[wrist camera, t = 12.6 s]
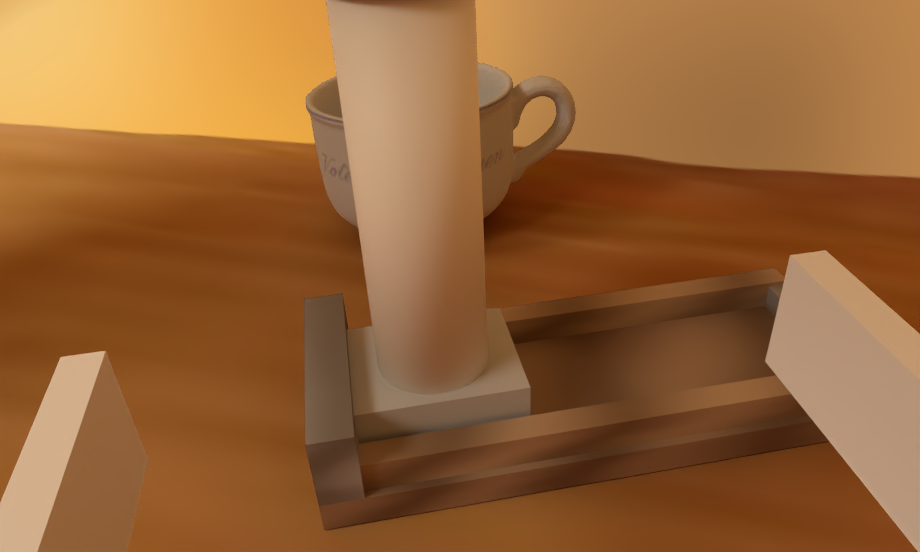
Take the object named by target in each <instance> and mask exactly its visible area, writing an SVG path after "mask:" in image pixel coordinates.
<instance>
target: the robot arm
mask: <svg viewBox="0 0 920 552" xmlns="http://www.w3.org/2000/svg"><path fill="white" fill-rule="evenodd" d="M765 362H766V363H767V364H768V366H769V367H770V368H771V369H772V371H773V372H774V373H775V374H776V376H777V377H778V378H779V379H780V380H781V382H782V383H783V384H784V385H785V387H786V388H787V389H788V390H789V392H790V393H791V394H792V395H793V397H794V398H795V399H796V400H797V402H798V403H799V404H800V405H801V407H802V408H803V409H804V410H805V412H806V413H807V414H808V415H809V417H810V418H811V419H812V420H813V422H814V423H815V424H816V425H817V427H818V428H819V429H820V430H821V432H822V433H823V434H824V435H825V436H826V438H827V439H828V440H829V441H830V443H831V444H832V445H833V446H834V448H835V449H836V450H837V451H838V453H839V454H840V455H841V456H842V458H843V459H844V460H845V461H846V463H847V464H848V465H849V466H850V468H851V469H852V470H853V471H854V473H855V474H856V475H857V476H858V478H859V479H860V480H861V481H862V483H863V484H864V485H865V486H866V487H867V489H868V490H869V491H870V492H871V494H872V495H873V496H874V497H875V499H876V500H877V501H878V502H879V504H880V505H881V506H882V507H883V509H884V510H885V511H886V512H887V514H888V515H889V516H890V517H891V519H892V520H893V521H894V522H895V524H896V525H897V526H898V527H899V529H900V530H901V531H902V532H903V534H904V535H905V536H906V537H907V539H908V540H909V541H910V542H911V543H912V545H913V546H914V547H915V548H916V550H917V551H918V552H920V334H919V333H918V332H917V331H916V330H915V329H913V328H912V327H911V326H910V325H909V324H908V323H907V322H906V321H904V320H903V319H902V318H901V317H900V316H899V315H898V314H897V313H895V312H894V311H893V310H892V309H891V308H890V307H889V306H888V305H886V304H885V303H884V302H883V301H882V300H881V299H880V298H879V297H877V296H876V295H875V294H874V293H873V292H872V291H871V290H870V289H868V288H867V287H866V286H865V285H864V284H863V283H862V282H861V281H859V280H858V279H857V278H856V277H855V276H854V275H853V274H852V273H850V272H849V271H848V270H847V269H846V268H845V267H844V266H843V265H842V264H840V263H839V262H838V261H837V260H836V259H835V258H834V257H833V256H831V255H830V254H829V253H828V252H827V251H826V250H824V251H817V252H810V253H803V254H795V255H790V258H789V262H788V266H787V271H786V275H785V279H784V283H783V288H782V292H781V296H780V300H779V304H778V309H777V313H776V317H775V321H774V326H773V330H772V334H771V338H770V343H769V347H768V351H767V355H766V360H765ZM147 461H148V457H147V455H146V452H145V450H144V447H143V445H142V442H141V439H140V437H139V434H138V432H137V429H136V427H135V424H134V422H133V419H132V416H131V414H130V411H129V409H128V406H127V404H126V401H125V399H124V396H123V394H122V391H121V388H120V386H119V383H118V381H117V378H116V376H115V373H114V371H113V368H112V365H111V363H110V360H109V358H108V355H107V353H106V351H100V352H93V353H86V354H79V355H72V356H65V357H61V358H60V360H59V362H58V365H57V367H56V370H55V372H54V374H53V377H52V379H51V382H50V384H49V386H48V389H47V391H46V394H45V396H44V399H43V401H42V403H41V406H40V408H39V411H38V413H37V415H36V418H35V420H34V423H33V425H32V427H31V430H30V432H29V435H28V437H27V440H26V442H25V444H24V447H23V449H22V452H21V454H20V456H19V459H18V461H17V464H16V466H15V468H14V471H13V473H12V476H11V478H10V480H9V483H8V485H7V488H6V490H5V493H4V495H3V497H2V500H1V502H0V552H127V550H128V546H129V541H130V537H131V532H132V528H133V523H134V519H135V514H136V510H137V505H138V501H139V496H140V492H141V487H142V483H143V478H144V474H145V469H146V465H147Z"/></svg>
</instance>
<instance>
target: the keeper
mask: <svg viewBox="0 0 920 552" xmlns="http://www.w3.org/2000/svg"><path fill="white" fill-rule="evenodd" d="M326 4H327V12H328V18H329V26H330V33H331V40H332V47H333V54H334V60H335V68H336V75H337V82H338V89H339V96H340V103H341V110H342V117H343V124H344V131H345V138H346V145H347V152H348V159H349V166H350V173H351V180H352V187H353V194H354V201H355V208H356V215H357V223H358V230H359V237H360V244H361V251H362V258H363V265H364V272H365V279H366V286H367V293H368V300H369V307H370V314H371V321H372V326H367V327H360V328H353V329H346V330H347V342H348V354H349V366H350V377H351V389H352V401H353V413H354V420H355V426H356V432H357V437H358V443H359V444H360V443H366V442H372V441H378V440H385V439H391V438H397V437H403V436H409V435H415V434H421V433H427V432H433V431H440V430H446V429H452V428H458V427H464V426H470V425H476V424H482V423H488V422H495V421H501V420H507V419H513V418H519V417H525V416H530V393H531V388H530V385H529V382H528V380H527V377H526V375H525V372H524V369H523V367H522V364H521V362H520V359H519V356H518V354H517V351H516V349H515V346H514V343H513V341H512V338H511V336H510V333H509V330H508V328H507V325H506V323H505V320H504V317H503V315H502V312H501V310H500V307H498V308H491V309H487V307H486V280H485V253H484V226H483V199H482V172H481V145H480V118H479V91H478V64H477V37H476V11H475V0H326Z"/></svg>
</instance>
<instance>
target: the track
mask: <svg viewBox="0 0 920 552" xmlns="http://www.w3.org/2000/svg"><path fill="white" fill-rule="evenodd" d="M784 279H785V277H784V276H783V275H782V274H781V273H780V272H779V271H778V270H777V269H776V268H772V269H771V268H769V269H762V270H755V271H751V272H744V273H738V274H731V275H724V276H717V277H710V278H703V279H696V280H689V281H683V282H676V283H669V284H662V285H655V286H648V287H641V288H634V289H627V290H621V291H614V292H607V293H600V294H593V295H586V296H579V297H572V298H566V299H559V300H552V301H545V302H538V303H531V304H524V305H517V306H511V307H504V308H500V310H501V312H502V315H503V317H504V320H505V323H506V325H507V328H508V330H509V333H510V336H511V338H512V341H513V343H514V346H515V349H516V351H517V354H518V356H519V359H520V362H521V364H522V367H523V369H524V372H525V375H526V377H527V380H528V382H529V385H530V388H531V393H530V416H525V417H519V418H513V419H507V420H501V421H495V422H488V423H482V424H476V425H470V426H464V427H458V428H452V429H446V430H440V431H433V432H427V433H421V434H415V435H409V436H403V437H397V438H391V439H385V440H378V441H372V442H366V443H360V444H359V443H358V437H357V432H356V426H355V420H354V413H353V401H352V389H351V377H350V366H349V354H348V342H347V330H346V329H348V324H347V318H346V312H345V306H344V300H343V294H335V295H328V296H321V297H314V298H307V299H304V339H305V446H306V451H307V455H308V459H309V464H310V468H311V473H312V477H313V481H314V486H315V490H316V495H317V499H318V503H319V508H320V512H321V516H322V521H323V525H324V530H328V529H334V528H339V527H345V526H351V525H356V524H362V523H368V522H373V521H379V520H385V519H390V518H396V517H402V516H407V515H413V514H419V513H424V512H430V511H436V510H441V509H447V508H453V507H458V506H464V505H470V504H475V503H481V502H487V501H492V500H498V499H504V498H509V497H515V496H521V495H526V494H532V493H538V492H543V491H549V490H555V489H560V488H566V487H572V486H577V485H583V484H589V483H594V482H600V481H606V480H611V479H617V478H623V477H628V476H634V475H640V474H645V473H651V472H657V471H662V470H668V469H674V468H679V467H685V466H691V465H696V464H702V463H708V462H713V461H719V460H725V459H730V458H736V457H742V456H747V455H753V454H759V453H764V452H770V451H776V450H781V449H787V448H793V447H798V446H804V445H810V444H815V443H821V442H827V441H829V440H828V439H827V438H826V436H825V435H824V434H823V433H822V432H821V430H820V429H819V428H818V427H817V425H816V424H815V423H814V422H813V420H812V419H811V418H810V417H809V415H808V414H807V413H806V412H805V410H804V409H803V408H802V407H801V405H800V404H799V403H798V402H797V400H796V399H795V398H794V397H793V395H792V394H791V393H790V392H789V390H788V389H787V388H786V387H785V385H784V384H783V383H782V382H781V380H780V379H779V378H778V377H777V376H776V374H775V373H774V372H773V371H772V369H771V368H770V367H769V366H768V364H767V363H766V362H765V360H766V355H767V351H768V347H769V343H770V338H771V334H772V330H773V326H774V321H775V317H776V313H777V309H778V304H779V300H780V296H781V292H782V288H783V283H784Z"/></svg>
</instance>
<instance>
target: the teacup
mask: <svg viewBox="0 0 920 552" xmlns="http://www.w3.org/2000/svg"><path fill="white" fill-rule="evenodd" d="M477 64H478V91H479V118H480V145H481V172H482V199H483V219H484V218H485V217H486V216H488V215H489V214H490V213H492V212H493V211H494V210H495V209H496V208H497V207H498V206H499V205H500V203H501V202H502V201H503V199H504V197H505V195H506V194H507V191H508V188H509V185H510V184H513V183H515V182H517V181H518V180H520V179H521V177H522V176H523V174H524V172H525V171H526V170H527V169H528V168H529V167H531V166H533V165H534V164H536V163H537V162H539V161H540V160H542V159H543V158H545V157H546V156H548V155H549V154H550V153H552V152H553V151H554V150H555V149H556V148H557V147H558V146H559V145H560V144H562V143H563V142H564V140H565V139H566V138H567V136H568V134H569V133H570V132H571V130H572V127H573V124H574V120H575V113H576V112H575V104H574V100H573V98H572V95H571V93H570V92H569V91H568V89H567V88H566V87H565V86H564V85H563V84H562V83H561V82H560V81H558V80H556V79H554V78H551V77H547V76H537V77H532V78H529V79H527V80H524V81H523V82H521V83H520V84H518V85H517V86H516V87H515V88H513V82H512V79H511V77H510V76H509V75H508V74H507V73H506V72H504V71H502V70H500V69H498V68H497V67H493V66H491V65H488V64H484V63H478V62H477ZM539 96H547V97H549V98H551V99H552V100H553V101H554V102H555V105H556V113H557V115H556V118H555V120H554V123H553V124H552V126H551V127H550V128H549V129H548V131H547V132H546V133H545V134H544V135H543V136H541V137H540V138H539V139H538V140H536V141H535V142H533V143H532V144H531V145H529V146H527V147H525V148H523V149H521V150H519V151H517V152H515V153H513V130H514V129H515V128H516V127H517V125H518V123H519V120H520V116H521V113H522V111H523V109H524V107H525V105H526V104H527V103H528V102H529V101H530V100H532V99H533V98H536V97H539ZM306 108H307V110H308V112H309V113H310V116H311V121H312V127H313V133H314V139H315V145H316V150H317V155H318V160H319V165H320V170H321V174H322V178H323V182H324V186H325V190H326V192H327V195H328V198H329V200H330V202H331V204H332V205H333V207H334V209H335V210H336V211H337V213H338V214H339V215H340V216H341V217H342V218H343V219H344V220H346V221H347V222H349V223H350V224H352V225H353V226H355V227H357V228H358V223H357V215H356V208H355V201H354V194H353V187H352V180H351V173H350V166H349V159H348V152H347V145H346V138H345V131H344V124H343V117H342V110H341V103H340V96H339V89H338V82H337V76H336V77H334V78H331V79H329V80H327V81H325V82H323V83H321V84H320V85H319V86H317V87H316V88H314V89H313V90H312V91H311V92H310V93H309V94H308V95H307V96H306Z"/></svg>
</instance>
